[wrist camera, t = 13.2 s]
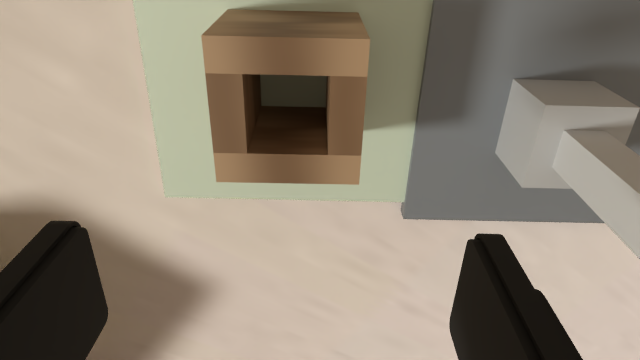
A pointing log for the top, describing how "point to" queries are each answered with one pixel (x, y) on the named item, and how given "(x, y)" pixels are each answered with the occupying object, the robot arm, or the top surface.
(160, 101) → the pad
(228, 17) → the ring
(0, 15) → the top surface
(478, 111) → the post stand
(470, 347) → the robot arm
